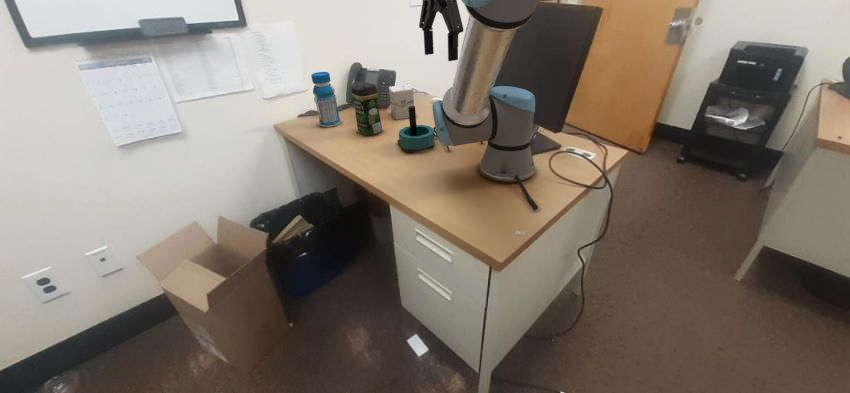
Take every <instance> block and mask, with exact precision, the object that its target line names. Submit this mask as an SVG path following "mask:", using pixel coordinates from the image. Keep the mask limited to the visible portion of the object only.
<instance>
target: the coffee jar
mask: <svg viewBox="0 0 850 393" xmlns="http://www.w3.org/2000/svg"><path fill="white" fill-rule="evenodd" d="M350 89H351V90H350V92H351V96H352V97H351V98H352V100H353V106H354V113H355V120H356V128H357V131H358V133H360V134H362V135H364V136H366V137H367V136H368V137H369V136H376V135H379V134H380V133H381V132H382V131H383V125H382V120H381V115H380V114H381V113H380V108H379V101H378V94H379V92H378V89H377V85H376V84H374V83H371V82H367V81H364V80H358V81H354V82H353V83H352V84H351V86H350Z"/></svg>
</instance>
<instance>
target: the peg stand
mask: <svg viewBox="0 0 850 393" xmlns="http://www.w3.org/2000/svg"><path fill="white" fill-rule="evenodd" d="M408 109H409V118H408V119H409V120H408V121H409V126H410V134H411V136H417V126H416V125H417V115H416V114H417V112H416V106H415V105H414V106H409V107H408ZM396 143H397V145H398V146H399V147H401V148H402V150H404V151H405V152H406V153H408V154H409V153H410V154H411V153H414V152H418V151H422V150H426V149H429V148H433V145H431V146H430V147H428V148H424V149H414V150H411V149H407V148H403V147H402V146H401V145H400V142H399V139H397V142H396Z"/></svg>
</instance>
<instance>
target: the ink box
mask: <svg viewBox="0 0 850 393" xmlns="http://www.w3.org/2000/svg"><path fill="white" fill-rule="evenodd" d="M388 94H389V104H390V112H391V113H390V114H391V115H392V117H393V118H394V120H396V121H398V120H402V119H409V109H408V107H409V106H415V99H414V98H415V96H414V89H413V88H412V87H411V86H410V85H409V84H408V83H406V84H399V85H392V86H388Z"/></svg>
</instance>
